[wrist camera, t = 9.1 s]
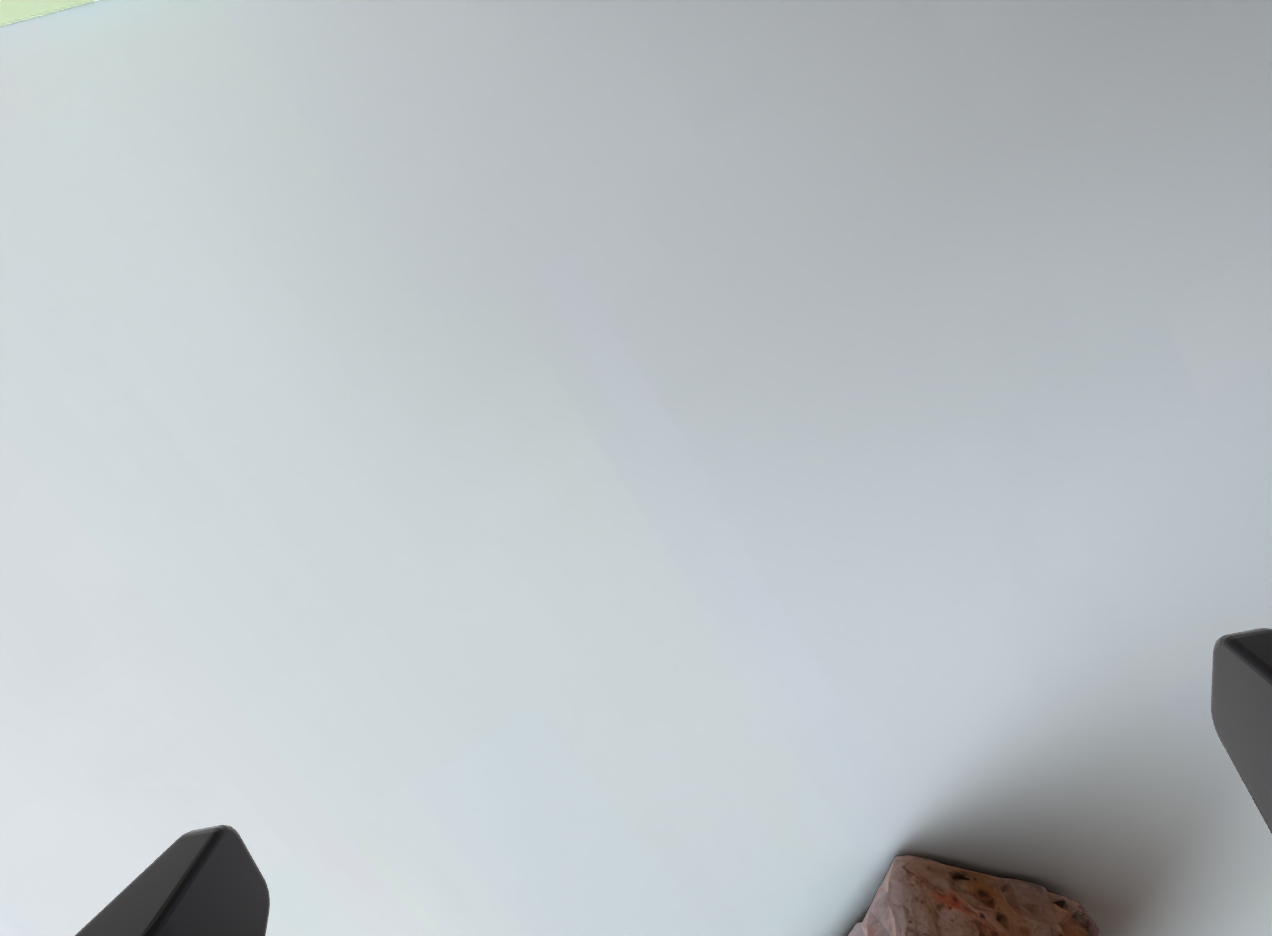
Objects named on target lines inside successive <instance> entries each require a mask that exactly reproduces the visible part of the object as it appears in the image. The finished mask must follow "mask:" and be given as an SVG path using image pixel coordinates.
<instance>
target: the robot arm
mask: <svg viewBox="0 0 1272 936" xmlns="http://www.w3.org/2000/svg"><path fill="white" fill-rule="evenodd" d="M1211 712H1212V719H1213V722H1214V726H1215V729H1216V731H1217V734H1218V736H1219V738H1220V740H1221V742H1222V744H1223V745H1224V747H1225V749H1226V751H1227V753H1228V754H1229V756H1230V758H1231V760H1232V762H1233V764H1234V765H1235V767H1236V769H1237V771H1238V773H1239V774H1240V776H1241V778H1242V780H1243V782H1244V784H1245V785H1246V787H1247V789H1248V791H1249V793H1250V795H1251V796H1252V798H1253V800H1254V802H1255V804H1256V805H1257V807H1258V809H1259V811H1260V813H1261V815H1262V816H1263V818H1264V820H1265V822H1266V824H1267V825H1268V827H1269V829H1270V831H1271V833H1272V629H1267V628H1262V629H1254V630H1249V631H1244V632H1239V633H1233V634H1228V635H1224V636H1222V637H1221V638H1219V639H1218V640H1217V641H1216V643H1215V646H1214V651H1213V670H1212V696H1211ZM269 906H270V899H269V891H268V888H267V884H266V882H265V879H264V878H263V876H262V874H261V872H260V871H259V869H258V867H257V865H256V863H255V862H254V860H253V858H252V856H251V855H250V853H249V851H248V849H247V848H246V846H245V844H244V842H243V841H242V839H241V837H240V835H239V834H238V832H237V831H236V830H235V829H233V828H232V827H230V826H226V825H219V826H214V827H209V828H204V829H198V830H193V831H190V832H188V833H186V834H184V835H182V836H181V837H180V838H179V839H178V840H177V841H176V842H174V843H173V844H172V845H171V846H170V847H169V848H168V849H167V850H166V851H165V852H164V853H163V854H162V855H161V856H160V857H158V858H157V859H156V860H155V861H154V862H153V863H152V864H151V865H150V866H149V867H148V868H147V869H146V870H145V871H144V872H142V873H141V874H140V875H139V876H138V877H137V878H136V879H135V880H134V881H133V882H132V883H131V884H130V885H129V886H127V887H126V888H125V889H124V890H123V891H122V892H121V893H120V894H119V895H118V896H117V897H116V898H115V899H114V900H113V901H111V902H110V903H109V904H108V905H107V906H106V907H105V908H104V909H103V910H102V911H101V912H100V913H99V914H98V915H97V916H95V917H94V918H93V919H92V920H91V921H90V922H89V923H88V924H87V925H86V926H85V927H84V928H83V929H82V930H81V931H79V932H78V933H77V934H76V935H75V936H265V934H266V928H267V922H268V915H269Z"/></svg>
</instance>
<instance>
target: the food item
mask: <svg viewBox="0 0 1272 936" xmlns="http://www.w3.org/2000/svg"><path fill="white" fill-rule="evenodd" d="M1082 913H1083V915H1080V914H1082ZM1098 934H1099V929H1098V927H1097V926H1096V925H1095V923H1094V922H1093V921H1092V919H1091V918H1090V917H1089V915H1088V914H1087V912H1086V911H1085V910H1084V908H1083V907H1082V906H1081V904H1080V903H1078V902H1076V901H1073V900H1071V899H1069V898H1067V897H1065V896H1062V895H1058V894H1054V893H1051V892H1047V890H1046V889H1045V887H1043V886H1041V885H1038V884H1035V883H1032V882H1028V881H1023V880H1018V879H1009V878H999V877H995V876H991V875H987V874H983V873H979V872H975V871H970V870H966V869H962V868H957V867H953V866H949V865H944V864H942V863H939V862H937V861H934V860H932V859H927V858H922V857H918V856H913V855H905V856H897V857H895V858H894V860H893V862H892V864H891V866H890V869H889V871H888V873H887V875H886V877H885V879H884V881H883V883H882V885H881V886H880V887H879V888H878V890H877V892H876V895H875V897H874V899H873V901H872V903H871V905H870V908H869V910H868V912H867V914H866V916H865V918H864V920H863V922H860V923H856V925H855V926H854V927H853V929H852V930H851V932H850V933H849V934H848V936H1098Z"/></svg>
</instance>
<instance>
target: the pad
mask: <svg viewBox="0 0 1272 936" xmlns="http://www.w3.org/2000/svg"><path fill="white" fill-rule="evenodd" d="M95 1H99V0H0V27H1V26H5V25H9V24H13V23H16V22H20V21H24V20H28V19H31V18H35V17H39V16H42V15H46V14H50V13H54V12H57V11H61V10H65V9H69V8H72V7H76V6H80V5H84V4H87V3H91V2H95Z"/></svg>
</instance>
